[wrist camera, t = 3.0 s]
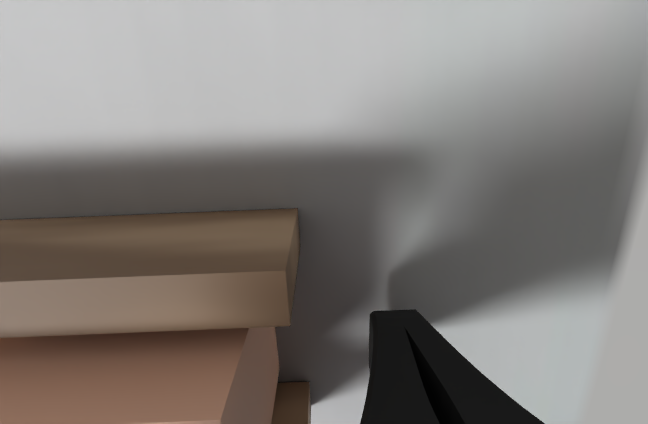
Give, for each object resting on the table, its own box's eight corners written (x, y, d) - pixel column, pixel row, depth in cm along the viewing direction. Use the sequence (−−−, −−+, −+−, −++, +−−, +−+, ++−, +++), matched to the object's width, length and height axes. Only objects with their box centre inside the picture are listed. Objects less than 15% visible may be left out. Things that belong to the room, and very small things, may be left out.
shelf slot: (311, 407, 11) (307, 531, 8) (-78, 423, 11) (-240, 555, 8) (297, 208, 9) (285, 270, 6) (-200, 227, 9) (-509, 302, 6)
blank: (279, 366, 11) (250, 566, 6) (106, 373, 11) (-55, 580, 6) (269, 264, 10) (220, 419, 5) (72, 271, 10) (-166, 436, 5)
